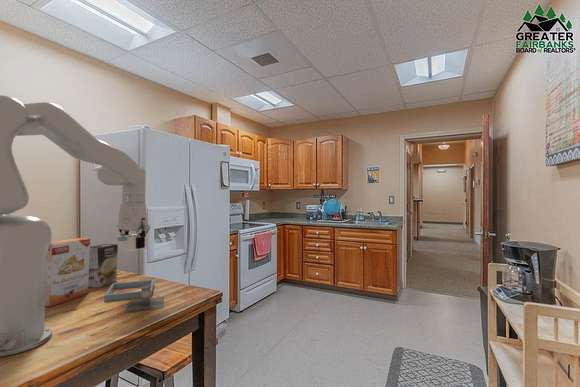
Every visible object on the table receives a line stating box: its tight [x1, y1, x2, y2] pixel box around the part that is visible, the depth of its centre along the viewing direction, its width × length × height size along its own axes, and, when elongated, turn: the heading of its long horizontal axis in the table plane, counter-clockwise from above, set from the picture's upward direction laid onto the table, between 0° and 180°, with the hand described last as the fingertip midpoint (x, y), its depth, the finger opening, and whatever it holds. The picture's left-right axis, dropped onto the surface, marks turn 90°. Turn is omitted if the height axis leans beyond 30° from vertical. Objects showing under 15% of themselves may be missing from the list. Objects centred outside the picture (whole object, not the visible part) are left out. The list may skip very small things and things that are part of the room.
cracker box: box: [45, 237, 91, 308], centre depth 98 cm, size 14×6×21 cm, turn 168°
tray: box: [103, 279, 155, 303], centre depth 104 cm, size 14×14×3 cm
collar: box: [117, 233, 149, 252], centre depth 103 cm, size 9×7×5 cm
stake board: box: [123, 285, 165, 314], centre depth 92 cm, size 11×11×7 cm
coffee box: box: [88, 243, 119, 289], centre depth 116 cm, size 9×6×16 cm
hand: (133, 246), depth 104 cm, fingers closed on collar, 7 cm apart
